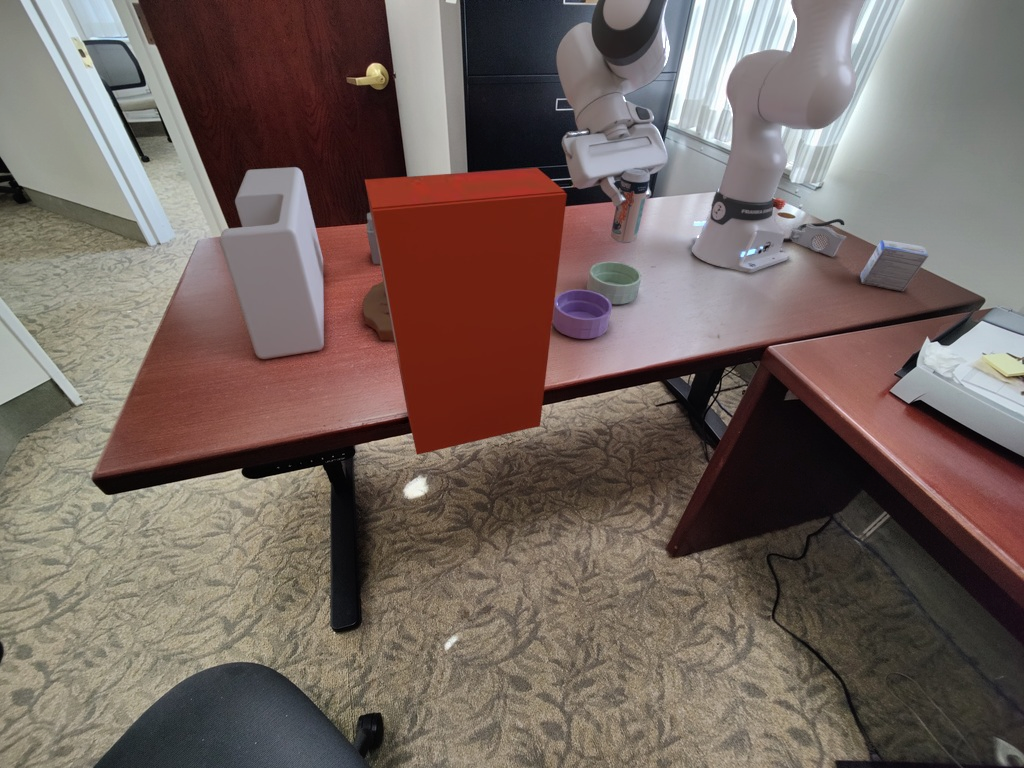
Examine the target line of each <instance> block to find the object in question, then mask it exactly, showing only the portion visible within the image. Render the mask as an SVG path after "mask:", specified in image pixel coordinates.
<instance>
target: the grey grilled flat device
mask: <svg viewBox="0 0 1024 768" xmlns="http://www.w3.org/2000/svg"><path fill="white" fill-rule="evenodd" d="M806 224H807V225H806V227H805V230H803V231H800V230H798V228H796V227H792V228H791V229H790V231H791V232H790V234H789V236H788V238H790V239H791V240H792V242H791V243H795V244H798V245H800V246H802V247H805V248H808V249H810V250H812V251H813V252H817V253H821V254H824V255H826V256H828V257H832V258H833V257H835V256H836V255H837V252H838V250H839V249H840V247H841V245H842V243H843V242H844V240H846V239H847V236H846V235H843V234H839V233H838V232H836V231H835V230H834V229H833V228H831V227H829V226H826V225H825V226H819V227H816V226H813V225H811V223H809V222H807V223H806ZM799 236H800V237H799ZM796 237H797V238H798V239H797V238H796ZM792 238H796V239H792Z"/></svg>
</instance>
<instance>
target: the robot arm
mask: <svg viewBox="0 0 1024 768" xmlns="http://www.w3.org/2000/svg"><path fill="white" fill-rule="evenodd" d="M668 1H669V0H597V2H596V4H595V7H594V9H593V13H592V17H591V22H587V21H585V22H580V23H578V24H576V25H574V26H573V27H572V28H571V29H570V30H568V32H566V34H565V35H564V36H563V38H562V39H561V41H560V43H559V46H558V48H557V50H556V51H557V52H556V56H555V57H556V59H555V60H556V69H557V73H558V78H559V81H560V84H561V87H562V90H563V93H564V96H565V99H566V101H567V103H568V104H569V106H570V107H571V109H572V111H573V113H574V122H575V125H576V128H577V130H575V131H574V130H570V131H567V132H566V133H565V135H563V137H562V139H561V147H562V149H563V152H564V154H565V159H566V160H565V161H566V165H567V169H568V172H569V173H568V174H569V176H570V178H571V179H570V180H571V183H572V185H573V186H574V187H575V188H577V189H579V190H581V189H582V190H583V189H586V188H592V187H596V186H600V187H601V190H602V191H603V193H604V194H605V195H606V196H608V197H609V198H610V199H611V201H612V204H613V206H614V207H616V206H620V205H623V204H624V203H625V202H626V197H625V194H624V191H623V192H620V191H619V188H618V187H617V186H616V185H615V183H616V182H621V176H622V175H623V173H624V172H625V170H626V169H627V170H630V169H634V168H641V169H644V170H647V171H648V172H649V177H650V178H651V175H653V174H656V173H658V172H659V171H660V170H661V169H663V168H664V167H665V166H666V165H667V164H668V159H669V157H668V151H667V149H666V146H665V143H664V141H663V138H662V135H661V133H660V131H659V129H658V128H657V126H655V124H653V123H652V122H654V120H655V117H654V113H653V111H652V110H651V109H650V108H647V107H644V106H641V105H637V104H635V103H632V101H631V102H630V101H628V100H626V98H625V96H627V95H630V94H632V93H634V92H636V91H639V90H640V89H643V88H645V87H647V86H648V85H650V84H652V83H653V82H655V81H656V80H657V78H659V77H660V75H661V74H662V73H663V71H664V70H665V68H666V66H667V63H668V61H669V57H670V41H669V36H668V30H667V27H666V22H665V12H666V9H667V5H668ZM865 3H866V0H790V12H791V15H792V17H793V19H794V21H795V31H794V39H793V43H792V46H791V50H790V51H787V50H781V49H774V48H773V49H764V50H759V51H753V52H749V53H747V54H746V55H744V56H743V57H742V58H740V59H739V60H738V61H737V62H736V64H735V65H734V66H733V68H732V70H731V71H730V73H729V75H728V78H727V81H726V84H725V96H726V100H727V103H728V105H729V107H730V113H731V125H732V127H731V128H732V129H731V131H732V132H731V144H730V151H729V156H728V159H727V162H726V166H725V170H724V173H723V175H722V179H721V182H720V186H719V188H717V189H716V191H715V194H714V196H713V200H712V203H711V210H710V211H709V212H708V215H707V217H706V219H705V220H704V221H693V226H694V227H696V226H697V227H698V226H702V227H701V230H700V232H699V234H698V235H697V236H696V238H695V240H694V244H693V246H692V247H691V253H692V254H693V255H694V256H695V257H696V258H698V259H699V260H702V261H703V262H705V263H707V264H709V265H713V266H717V267H721V268H726V269H732V270H737V271H740V272H744V273H749V274H750V273H754V272H757V271H759V270H763V269H766V268H768V267H771V266H774V265H777V264H780V263H783V262H785V261H787V260H788V258H789V254H788V252H786V251H785V250H784V249H783V248H781V247H782V245H783V243H793V242H792V240H791V239H790V238H789V237H787V238H786V237H785V231H784V229H783V228H782V227H781V226H780V224H779V223H778V221H777V220H776V219H775V217H774V216H773V212H774V208H775V209H776V210H778V211H781V210H782V209H783V208H785V206H786V204H787V203H786V200H784V199H781V197H777V198H774V197H775V196H774V195H775V193H776V192H777V189H778V186H779V184H780V182H781V179H782V176H783V174H784V172H785V170H786V167H787V165H788V154H787V151H786V149H785V147H784V144H783V138H782V128H783V127H785V128H789V129H792V130H801V131H803V130H805V131H807V130H808V131H810V130H811V131H813V130H821V129H822V130H823V129H825V128H827V127H828V126H830V125H832V124H833V123H834V122H835V121H837V120H838V119H839V118H840V117H841V116H842V114H843V113H844V112H845V111H846V110H847V108H848V107H849V105H850V104H851V101H852V100H853V98H854V95H855V91H856V89H857V88H856V87H857V74H856V72H855V69H854V65H853V61H852V44H853V37H854V33H855V30H856V29H855V28H856V25H857V21H858V19H859V16H860V14H861V11H862V8H863V6H864V4H865ZM627 170H626V171H627ZM651 196H652V191H651V189H650V184H649V185H648V190H647V194H646V199H645V200H648V199H649V198H650V197H651ZM844 221H845V220H843V219H841V218H836V219H832V220H829V221H825V222H824V221H823V222H819V223H818V222H817V223H815V222H814V223H810V224H811V225H813V226H816V227H824V226H825V227H826V226H829V225H831V224H835V223H839V224H840V226H845V222H844ZM807 224H808V223H803V224H800V225H798V227H797V229H798V230H800V231H803V232H804V230H803V229H804V228H806V225H807ZM798 236H799V235H798ZM798 236H797V237H798ZM797 237H795V238H792V239H796V238H797ZM799 237H800V236H799ZM797 239H798V238H797Z"/></svg>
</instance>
